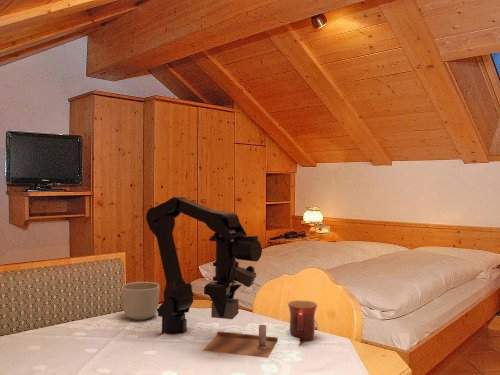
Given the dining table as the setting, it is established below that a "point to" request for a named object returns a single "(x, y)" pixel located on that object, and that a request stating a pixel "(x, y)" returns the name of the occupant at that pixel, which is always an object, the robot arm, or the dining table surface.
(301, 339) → the mug
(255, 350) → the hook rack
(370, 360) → the dining table surface
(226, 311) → the gray square frame
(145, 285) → the planter
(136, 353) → the dining table surface
